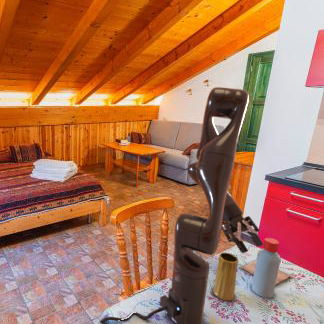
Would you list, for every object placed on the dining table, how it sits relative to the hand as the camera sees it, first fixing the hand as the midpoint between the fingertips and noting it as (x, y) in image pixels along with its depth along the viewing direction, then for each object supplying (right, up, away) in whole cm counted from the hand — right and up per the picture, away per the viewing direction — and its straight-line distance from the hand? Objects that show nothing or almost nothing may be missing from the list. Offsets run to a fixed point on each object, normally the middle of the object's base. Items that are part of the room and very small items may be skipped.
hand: (253, 248), depth 86 cm
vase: (-11, -15, -2) cm, 19 cm away
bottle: (+2, -14, -1) cm, 14 cm away
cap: (+2, +2, -5) cm, 6 cm away
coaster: (+10, -12, +8) cm, 17 cm away
